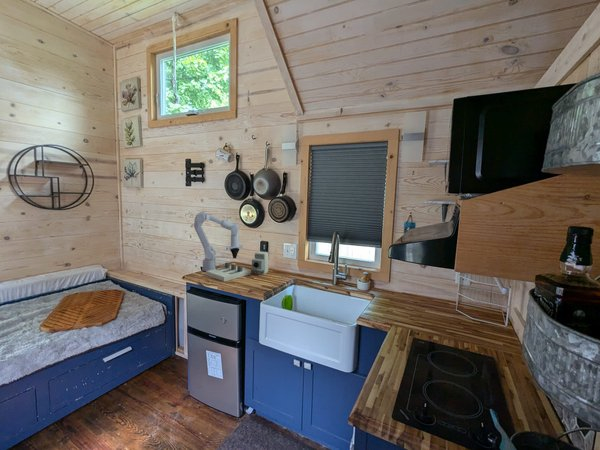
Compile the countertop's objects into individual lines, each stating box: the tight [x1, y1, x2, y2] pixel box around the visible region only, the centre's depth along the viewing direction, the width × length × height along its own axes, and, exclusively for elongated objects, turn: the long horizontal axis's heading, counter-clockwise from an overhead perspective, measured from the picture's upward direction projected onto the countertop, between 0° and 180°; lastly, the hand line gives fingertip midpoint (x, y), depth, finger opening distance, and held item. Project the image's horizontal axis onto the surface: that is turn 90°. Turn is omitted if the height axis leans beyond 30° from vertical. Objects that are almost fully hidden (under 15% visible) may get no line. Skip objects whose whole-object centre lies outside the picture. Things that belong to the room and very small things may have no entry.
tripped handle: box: [230, 262, 237, 270], centre depth 208 cm, size 3×2×4 cm, turn 52°
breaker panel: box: [205, 262, 252, 282], centre depth 205 cm, size 20×24×7 cm
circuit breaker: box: [251, 250, 270, 275], centre depth 210 cm, size 8×14×15 cm, turn 163°
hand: (234, 258), depth 216 cm, fingers closed
